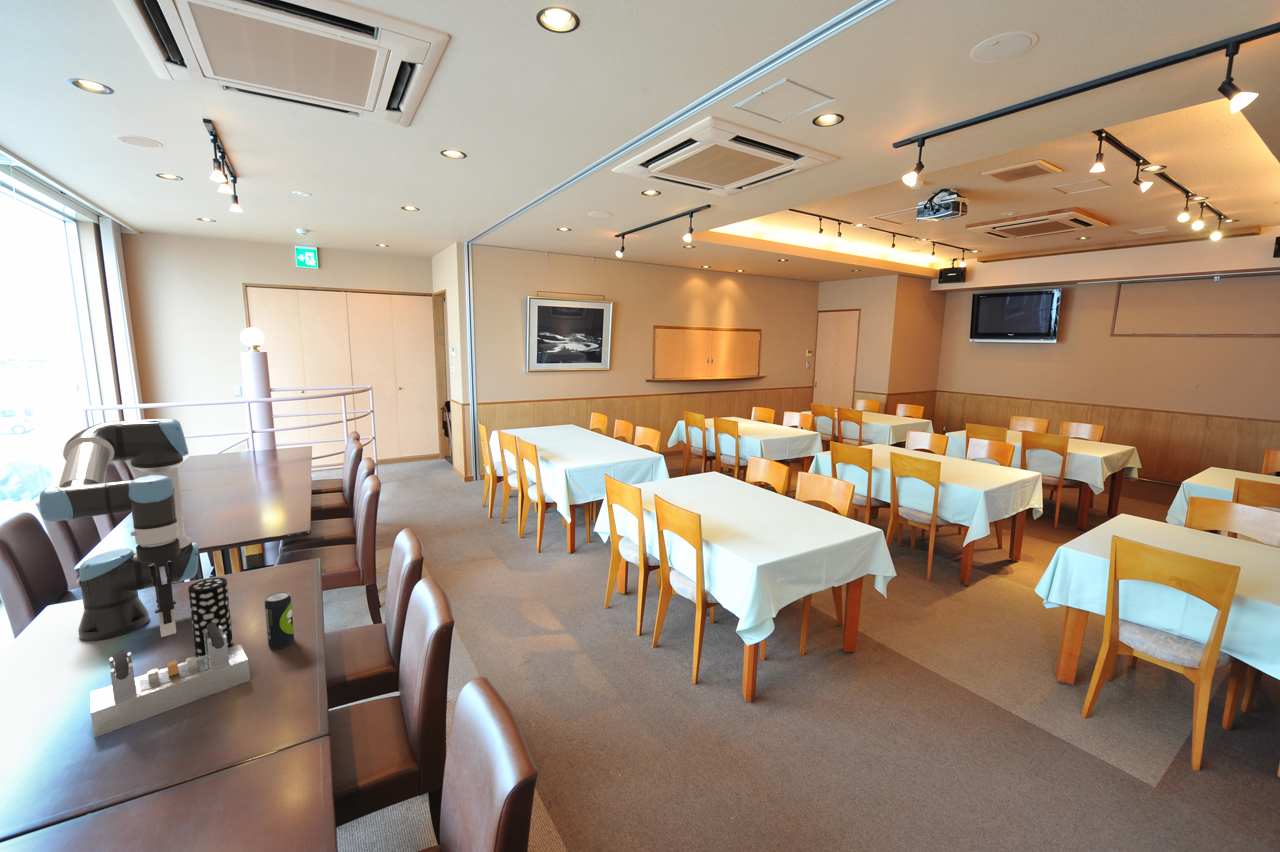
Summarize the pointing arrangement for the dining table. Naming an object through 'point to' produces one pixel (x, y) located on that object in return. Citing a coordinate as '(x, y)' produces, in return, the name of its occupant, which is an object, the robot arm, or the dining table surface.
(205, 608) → the spotted tube
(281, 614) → the beverage can
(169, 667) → the breaker paddle
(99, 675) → the dining table surface
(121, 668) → the dark grey bar handle
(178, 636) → the dining table surface
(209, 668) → the white parts holder tray
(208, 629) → the dark grey rod
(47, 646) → the dining table surface
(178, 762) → the dining table surface
